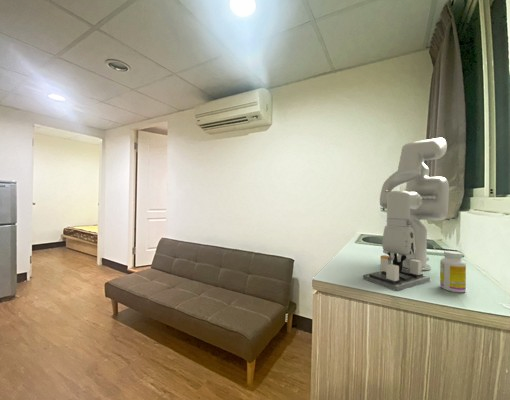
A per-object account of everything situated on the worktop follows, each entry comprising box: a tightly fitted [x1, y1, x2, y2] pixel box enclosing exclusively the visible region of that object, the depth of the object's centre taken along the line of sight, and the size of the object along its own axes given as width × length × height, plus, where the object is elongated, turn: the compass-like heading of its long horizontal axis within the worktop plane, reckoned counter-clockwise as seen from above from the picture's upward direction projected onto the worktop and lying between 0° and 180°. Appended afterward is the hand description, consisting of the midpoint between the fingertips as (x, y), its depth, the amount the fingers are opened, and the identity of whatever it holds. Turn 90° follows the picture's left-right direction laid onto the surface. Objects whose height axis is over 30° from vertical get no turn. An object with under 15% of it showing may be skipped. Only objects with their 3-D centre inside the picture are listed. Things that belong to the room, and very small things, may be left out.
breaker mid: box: [380, 254, 392, 272], centre depth 90 cm, size 2×3×6 cm
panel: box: [362, 268, 431, 292], centre depth 86 cm, size 21×13×2 cm, turn 118°
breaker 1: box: [386, 264, 399, 281], centre depth 80 cm, size 2×3×5 cm
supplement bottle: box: [439, 250, 467, 293], centre depth 78 cm, size 7×7×13 cm
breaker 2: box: [409, 259, 423, 275], centre depth 87 cm, size 2×3×5 cm
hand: (397, 271), depth 86 cm, fingers closed
